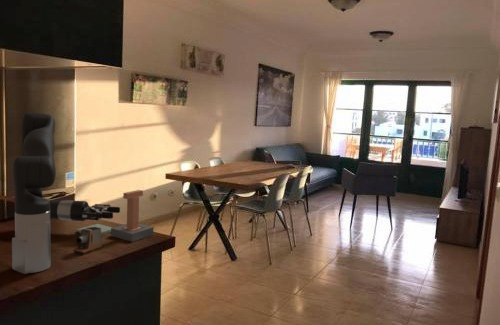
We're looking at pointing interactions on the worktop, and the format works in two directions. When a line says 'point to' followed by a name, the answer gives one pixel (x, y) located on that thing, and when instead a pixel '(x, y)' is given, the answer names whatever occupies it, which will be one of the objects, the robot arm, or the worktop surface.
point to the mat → (103, 228)
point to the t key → (132, 209)
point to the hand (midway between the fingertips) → (116, 212)
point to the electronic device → (88, 240)
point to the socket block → (132, 232)
